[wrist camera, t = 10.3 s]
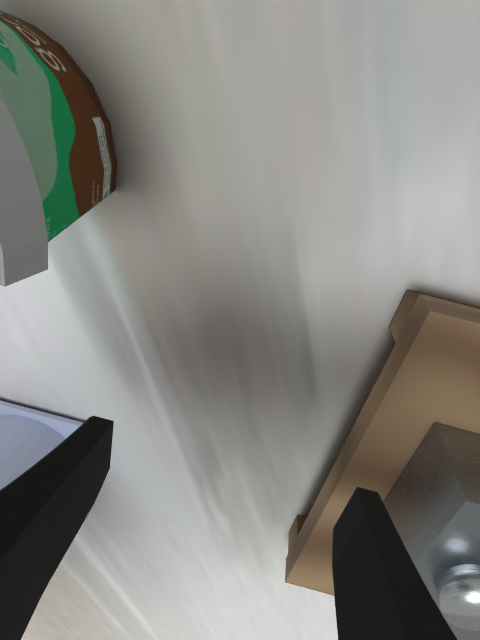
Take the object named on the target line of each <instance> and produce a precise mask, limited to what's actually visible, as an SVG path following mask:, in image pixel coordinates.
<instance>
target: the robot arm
mask: <svg viewBox="0 0 480 640" xmlns="http://www.w3.org/2000/svg"><path fill="white" fill-rule="evenodd" d="M113 423H114V421H111V420H107V419H104V418H100V417H96V416H92V417H89V418H88V419H87V420H86V421H85V422H84V423H83V422H79V421H75V420H71V419H68V418H64V417H60V416H56V415H53V414H49V413H45V412H42V411H38V410H34V409H30V408H27V407H23V406H19V405H16V404H12V403H8V402H4V401H1V400H0V640H21V638H22V636H23V634H24V632H25V629H26V627H27V625H28V623H29V621H30V619H31V617H32V615H33V613H34V610H35V608H36V606H37V604H38V602H39V600H40V598H41V596H42V594H43V592H44V590H45V588H46V587H47V585H48V583H49V581H50V579H51V577H52V576H53V574H54V572H55V571H56V569H57V567H58V565H59V564H60V562H61V560H62V558H63V557H64V555H65V553H66V551H67V550H68V548H69V546H70V544H71V543H72V541H73V539H74V538H75V536H76V534H77V532H78V531H79V529H80V527H81V525H82V524H83V522H84V520H85V519H86V518H87V516H88V514H89V511H90V510H91V508H92V506H93V504H94V502H95V500H96V498H97V496H98V494H99V491H100V489H101V487H102V485H103V482H104V480H105V478H106V475H107V473H108V471H109V468H110V458H111V446H112V434H113ZM332 572H333V584H334V596H335V607H336V618H337V629H338V640H457V638H456V636H455V635H454V633H453V632H452V630H451V628H450V627H449V625H448V623H447V622H446V620H445V618H444V617H443V615H442V613H441V612H440V610H439V608H438V606H437V605H436V603H435V601H434V600H433V598H432V596H431V594H430V592H429V591H428V589H427V587H426V585H425V583H424V582H423V580H422V578H421V576H420V574H419V572H418V570H417V569H416V567H415V565H414V563H413V561H412V559H411V557H410V555H409V553H408V551H407V550H406V548H405V546H404V544H403V542H402V540H401V538H400V536H399V534H398V532H397V530H396V528H395V526H394V524H393V522H392V519H391V517H390V515H389V513H388V511H387V509H386V507H385V505H384V503H383V501H382V499H381V497H380V495H379V493H378V492H375V491H372V490H368V489H364V488H360V487H357V488H356V489H355V491H354V493H353V495H352V496H351V498H350V500H349V502H348V503H347V505H346V507H345V509H344V510H343V512H342V514H341V515H340V517H339V519H338V521H337V522H336V524H335V526H334V528H333V544H332Z"/></svg>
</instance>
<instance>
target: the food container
mask: <svg viewBox="0 0 480 640" xmlns="http://www.w3.org/2000/svg"><path fill="white" fill-rule="evenodd" d="M116 170H117V160H116V155H115V149H114V143H113V138H112V132H111V127H110V122H109V120H108V118H107V116H106V114H105V111H104V109H103V107H102V105H101V102H100V100H99V98H98V96H97V94H96V91H95V89H94V87H93V85H92V83H91V81H90V80H89V79H88V78H87V76H86V75H85V74H84V73H83V71H82V70H81V69H80V68H79V66H78V65H77V64H76V63H75V61H74V60H73V59H72V58H71V56H70V55H69V54H68V53H67V51H66V50H65V49H64V48H63V47H62V46H61V45H59V44H58V43H57V42H55V41H54V40H53V39H51V38H50V37H49V36H47V35H46V34H45V33H43V32H42V31H41V30H39V29H38V28H37V27H35V26H33V25H31V24H29V23H27V22H25V21H23V20H21V19H19V18H16V17H14V16H12V15H9V14H7V13H4V12H2V11H0V285H2V286H7V285H10V284H12V283H15V282H17V281H20V280H22V279H25V278H27V277H30V276H32V275H35V274H37V273H40V272H42V271H45V270H47V269H48V242H49V241H50V240H51V239H53V238H54V237H55V236H57V235H58V234H59V233H60V232H62V231H63V230H64V229H66V228H67V227H68V226H70V225H71V224H72V223H73V222H75V221H76V220H77V219H79V218H80V217H81V216H82V215H84V214H85V213H86V212H88V211H89V210H90V209H92V208H93V207H94V206H95V205H97V204H98V203H99V202H101V201H102V200H103V199H104V198H106V197H107V196H108V195H110V194H111V193H112V192H113V191H115V183H116Z"/></svg>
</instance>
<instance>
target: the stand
mask: <svg viewBox="0 0 480 640" xmlns="http://www.w3.org/2000/svg"><path fill="white" fill-rule="evenodd" d="M389 328H390V331H391V333H392V336H393V339H394V341H395V345H394V347H393V349H392V351H391V353H390V355H389V357H388V359H387V361H386V363H385V364H384V366H383V368H382V370H381V372H380V374H379V376H378V378H377V380H376V382H375V384H374V386H373V388H372V390H371V392H370V394H369V396H368V398H367V400H366V402H365V404H364V406H363V408H362V410H361V412H360V414H359V416H358V418H357V420H356V422H355V424H354V426H353V428H352V430H351V432H350V434H349V435H348V437H347V439H346V441H345V443H344V445H343V447H342V449H341V451H340V453H339V455H338V457H337V459H336V461H335V463H334V465H333V467H332V469H331V471H330V473H329V475H328V477H327V479H326V481H325V483H324V485H323V487H322V489H321V491H320V493H319V495H318V497H317V499H316V501H315V503H314V504H313V506H312V508H311V510H310V512H309V514H308V516H307V518H306V517H302V516H298V515H297V517H296V519H295V521H294V523H293V525H292V527H291V529H290V532H289V547H288V556H287V558H286V576H285V582H286V583H290V584H293V585H297V586H301V587H305V588H308V589H312V590H316V591H319V592H323V593H327V594H330V595H334V584H333V572H332V544H333V528H334V526H335V524H336V522H337V521H338V519H339V517H340V515H341V514H342V512H343V510H344V509H345V507H346V505H347V503H348V502H349V500H350V498H351V496H352V495H353V493H354V491H355V489H356V488H357V487H360V488H364V489H368V490H372V491H375V492H378V493H379V495H380V497H381V499H382V501H383V500H384V499H385V497H386V496H387V494H388V493H389V491H390V490H391V488H392V486H393V485H394V483H395V482H396V480H397V479H398V477H399V476H400V474H401V472H402V471H403V469H404V468H405V466H406V465H407V463H408V462H409V460H410V458H411V457H412V455H413V454H414V452H415V451H416V449H417V448H418V446H419V444H420V443H421V441H422V440H423V438H424V437H425V435H426V434H427V432H428V431H429V429H430V427H431V426H432V424H433V423H434V422H438V423H442V424H446V425H449V426H453V427H457V428H461V429H464V430H468V431H472V432H476V433H479V434H480V309H479V308H475V307H472V306H468V305H464V304H460V303H456V302H453V301H449V300H445V299H441V298H437V297H434V296H430V295H426V294H422V293H418V292H415V291H411V290H406V292H405V294H404V296H403V299H402V301H401V303H400V305H399V307H398V309H397V311H396V313H395V315H394V317H393V319H392V321H391V323H390V325H389Z"/></svg>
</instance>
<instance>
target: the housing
mask: <svg viewBox="0 0 480 640" xmlns="http://www.w3.org/2000/svg"><path fill="white" fill-rule="evenodd" d="M383 503H384V505H385V507H386V509H387V511H388V513H389V515H390V517H391V519H392V522H393V524H394V526H395V528H396V530H397V532H398V534H399V536H400V538H401V540H402V542H403V544H404V546H405V548H406V550H407V551H408V553H409V555H410V557H411V559H412V561H413V563H414V565H415V567H416V569H417V570H418V572H419V574H420V576H421V578H422V580H423V582H424V583H425V585H426V587H427V589H428V591H429V592H430V594H431V596H432V598H433V600H434V601H435V603H436V605H437V606H438V608H439V610H440V612H441V613H442V615H443V617H444V618H445V620H446V622H447V623H448V625H449V627H450V628H451V630H452V632H453V633H454V635H455V636H456V638H457V640H480V434H479V433H476V432H472V431H468V430H464V429H461V428H457V427H453V426H449V425H446V424H442V423H438V422H434V423H433V424H432V426H431V427H430V429H429V431H428V432H427V434H426V435H425V437H424V438H423V440H422V441H421V443H420V444H419V446H418V448H417V449H416V451H415V452H414V454H413V455H412V457H411V458H410V460H409V462H408V463H407V465H406V466H405V468H404V469H403V471H402V472H401V474H400V476H399V477H398V479H397V480H396V482H395V483H394V485H393V486H392V488H391V490H390V491H389V493H388V494H387V496H386V497H385V499H384V500H383Z"/></svg>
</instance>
